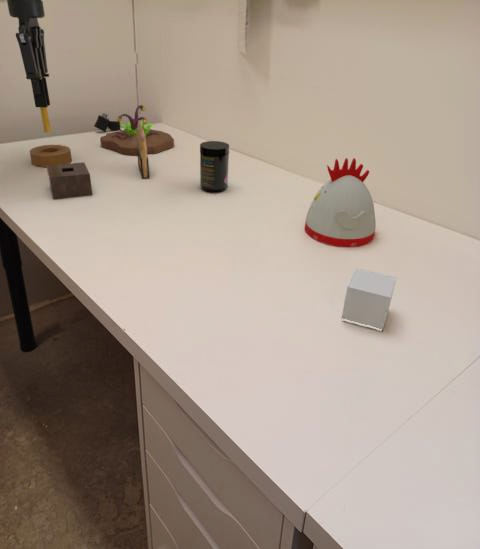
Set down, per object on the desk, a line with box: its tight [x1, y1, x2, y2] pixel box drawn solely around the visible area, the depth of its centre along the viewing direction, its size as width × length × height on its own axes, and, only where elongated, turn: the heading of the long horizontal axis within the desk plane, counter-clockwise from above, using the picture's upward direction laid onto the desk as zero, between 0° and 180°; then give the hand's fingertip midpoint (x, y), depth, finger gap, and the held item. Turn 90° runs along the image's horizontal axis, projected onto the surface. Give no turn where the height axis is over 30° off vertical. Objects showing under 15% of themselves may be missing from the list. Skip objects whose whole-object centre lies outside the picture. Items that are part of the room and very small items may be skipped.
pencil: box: [39, 70, 52, 134], centre depth 118 cm, size 2×2×15 cm
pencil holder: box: [46, 162, 93, 200], centre depth 108 cm, size 8×8×5 cm
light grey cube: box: [341, 267, 397, 330], centre depth 70 cm, size 6×6×6 cm
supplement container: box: [199, 140, 230, 193], centre depth 111 cm, size 7×7×10 cm
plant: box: [99, 104, 175, 157], centre depth 139 cm, size 20×20×11 cm
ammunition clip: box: [137, 120, 150, 180], centre depth 119 cm, size 11×2×12 cm, turn 15°
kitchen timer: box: [304, 157, 377, 248], centre depth 92 cm, size 14×14×15 cm
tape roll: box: [29, 144, 73, 168], centre depth 126 cm, size 10×10×3 cm
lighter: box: [93, 112, 121, 133], centre depth 153 cm, size 8×2×5 cm
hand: (42, 105), depth 119 cm, fingers closed on pencil, 1 cm apart
